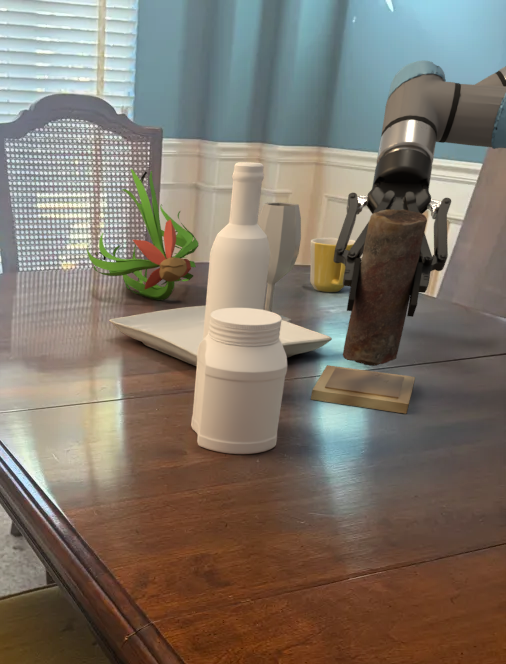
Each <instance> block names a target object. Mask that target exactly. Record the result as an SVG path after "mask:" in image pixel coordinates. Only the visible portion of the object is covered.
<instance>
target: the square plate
mask: <svg viewBox="0 0 506 664" xmlns="http://www.w3.org/2000/svg"><path fill="white" fill-rule="evenodd" d="M205 309H206V304H205V305H196V306H186V307H177V308H172V309H163V310H157V311H151V312H145V313H144V312H143V313H139V314H138V313H137V314H134V315H133V314H132V315H128V316H121V317H115V318H110V319H109V320H108V321H109V322H110V323H111V324H112V326H114V327H115V328H116V330H118V331H119V333H122V334H123V335H125V336H127V337H130V338H131V339H134V340H135V341H139V342H142V344H143V345H144V346H146V347H148V348H151V349H153V350H155V351H156V350H157V351H158V352H161V353H163V354H165V355H168V356H170V357H173V358H175V359H178V360H180V361H182V362H185V363H187V364H188V365H189V364H190V365H192V366H194V367H197V350H198V347H199V344H200V343H201V342H202V340H203V333H204V321H205ZM280 329H281V330H280V336H279V337H280V341H281V343H282V345H283V348H284V350H285V353H286V356H287V359H289V358H290V357H293V356H295V355H299V354H304V353H308V352H312V351H315V350H318V349H320V348H322V347H324V346H325V345H327V344H328V343H329V342H331V341H332V340H333V338H332V337H331V336H329V335H327V334H323V333H320V332H317V331H315V330H311V329H310V328H306V327H303V326H300V325H297V324H295V323H292V322H291V323H289V322H287V321H284V320H282V321H281V326H280Z"/></svg>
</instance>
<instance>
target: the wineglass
mask: <svg viewBox="0 0 506 664" xmlns="http://www.w3.org/2000/svg"><path fill="white" fill-rule="evenodd" d="M257 224H258V225H259V226H260V228H261V229H262V230H263V232H264V233H265V234H266V235H267V239H268V243H269V249H270V258H269V266H268V275H267V283H266V292H265V300H264V308H263V310H265V311H270V312H273V304H274V298H275V297H274V295H275V288H276V284H277V283H278V282H279V281H281V279H282V278H283V277H285V276H286V275H287V274H289V273H290V272H291V271H292V270H294V267H295V264H296V261H297V260H298V257H299V254H300V248H301V240H302V217H301V211H300V205H299V204H297V203H293V202H281V201H273V202H272V201H269V202H264V203H263V205H262V208H261V210H260V212H259V213H258V222H257ZM278 315H279V316H280V317H281V318H282V320H284V321H287V322H289V323H292V318H289V317H286V316H284V315H282V314H278Z"/></svg>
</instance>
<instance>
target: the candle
mask: <svg viewBox="0 0 506 664" xmlns="http://www.w3.org/2000/svg"><path fill="white" fill-rule="evenodd" d="M368 222H369V224H368V229H367V234H366V239H365V245H364V250H363V254H362V256H361V258H362V259H361V265H360V271H359V276H358V282H357V288H356V294H355V300H354V305H353V310H352V311H350V315H349V319H348V325H347V330H346V335H345V340H344V345H343V350H342V351H343V352H342V357H343V358H344V360H346V361H349V362H355V363H358V364H362V365H364V366H370V367H377V366H379V365H383V364H387V363H389V362H391V361H394V360H396V359H397V357H398V354H399V353H398V352H399V349H400V343H401V340H402V335H403V331H404V326H405V322H406V316H407V314H408V308H409V301H410V294H411V290H412V285H413V280H414V275H415V271H416V267H417V263H418V258H419V254H420V249H421V245H422V240H423V236H424V233H425V231H426V226H427V224H428V219H427V216H426V215H425V214H424V213H423V214H421V213H416V212H411V211H408V210H394V209H393V210H390V209H389V210H387V209H386V210H382V211H379V212H376V213H373V214H372V213H371V215H370V217H369V220H368Z"/></svg>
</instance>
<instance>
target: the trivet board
mask: <svg viewBox="0 0 506 664" xmlns="http://www.w3.org/2000/svg"><path fill="white" fill-rule="evenodd" d="M415 381H416V377H415V376H411V375H404V374H403V375H402V374H396V373H390V372H389V373H388V372H381V371H372V370H367V369H358V368H351V367H343V366H337V365H329V364H327V365H326V366H325V367H324V369H323V371H322V373H321V374H320V375H319V377H318V379H317V381H316V382H315V385H314V386H313V387H312V390H311V395H310V400H312V401H317V402H318V401H319V402H324V403H329V404H331V403H332V404H336V405H337V404H338V405H343V406H352V407H359V408H365V409H371V410H379V411H385V412H391V413H398V414H403V415H404V414H405V415H406V414H407V413H408V409H409V406H410V401H411V397H412V393H413V389H414V384H415Z"/></svg>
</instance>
